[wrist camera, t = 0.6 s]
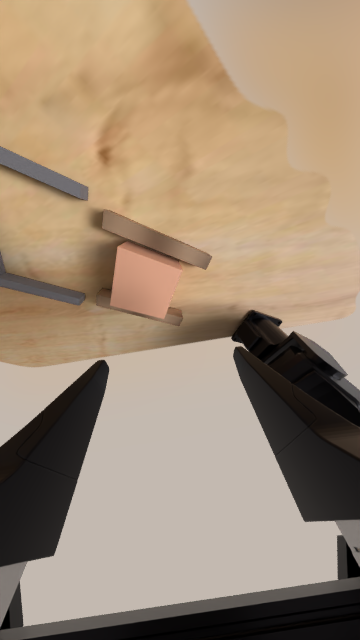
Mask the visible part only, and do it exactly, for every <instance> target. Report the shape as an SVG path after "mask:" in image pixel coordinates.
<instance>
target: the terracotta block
mask: <svg viewBox="0 0 360 640" xmlns="http://www.w3.org/2000/svg"><path fill="white" fill-rule="evenodd" d="M182 271H183V270H182V268H181V265H180V263H179V260H176V259H174V258H171V257H169V256H166V255H163V254H161V253H158V252H156V251H153V250H151V249H148V248H145V247H143V246H140V245H138V244H135V243H133V242H130V241H126V242H125V243H123V244H121V245H119V246H118V248H117V256H116V263H115V271H114V279H113V286H112V294H111V301H110V306H114V307H118V308H122V309H126V310H130V311H134V312H138V313H142V314H146V315H150V316H154V317H157V318H161V319H164V318H165V315H166V313H167V310H168V308H169V305H170V302H171V300H172V297H173V295H174V292H175V289H176V287H177V284H178V282H179V279H180V276H181V274H182Z"/></svg>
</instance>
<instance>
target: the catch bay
mask: <svg viewBox="0 0 360 640" xmlns="http://www.w3.org/2000/svg"><path fill="white" fill-rule="evenodd" d="M0 164H2V165H5V166H7V167H9V168H12V169H14V170H16V171H18V172H21V173H23V174H25V175H28V176H30V177H32V178H34V179H37V180H39V181H41V182H43V183H46V184H48V185H50V186H53V187H55V188H57V189H59V190H62V191H64V192H66V193H69V194H71V195H73V196H75V197H78V198H80V199H84V200H87V201H88V187H86V186H84V185H82V184H80V183H78V182H76V181H74V180H71V179H69V178H67V177H65V176H63V175H61V174H59V173H56V172H54V171H52V170H50V169H48V168H46V167H43V166H41V165H39V164H37V163H35V162H33V161H31V160H28V159H26V158H24V157H22V156H20V155H18V154H16V153H13V152H11V151H9V150H7V149H5V148H3V147H1V146H0ZM0 286H1V287H5V288H9V289H13V290H17V291H21V292H25V293H29V294H34V295H38V296H42V297H46V298H50V299H54V300H58V301H62V302H66V303H71V304H75V305H80V304H81V303H82V302H83V301H84V300H85V293H81V292H77V291H73V290H70V289H66V288H62V287H59V286H55V285H51V284H47V283H44V282H40V281H36V280H32V279H29V278H25V277H21V276H17V275H14V274H10V273H6V271H5V267H4V264H3V260H2V256H1V252H0Z"/></svg>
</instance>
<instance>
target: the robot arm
mask: <svg viewBox="0 0 360 640" xmlns="http://www.w3.org/2000/svg"><path fill="white" fill-rule="evenodd" d="M281 323H282V321H281V320H280V319H278V318H275V317H272V316H269V315H266V314H263V313H260V312H257V311H252V312H251V313H250V314H249V315H248V317H247V318H246V319H245V320H244V322H243V323H242V324H241V326H240V327H239V328H238V330H237V331H236V332H235V334H234V335H233V336H232V338H231V339H232V340H233V341H235V342H239V343H243V344H244V346H245V347H246V349H247V350H248V351H249V352H248V351H247V350H246V349H244V348H243V347H241V346H240V347H235V350H234V354H233V357H234V361H235V364H236V367H237V370H238V373H239V376H240V379H241V381H242V384H243V386H244V388H245V390H246V393H247V395H248V397H249V399H250V402H251V404H252V406H253V408H254V410H255V413H256V415H257V417H258V419H259V422H260V424H261V426H262V428H263V431H264V433H265V435H266V437H267V439H268V441H269V443H270V446H271V448H272V451H273V453H274V455H275V457H276V460H277V462H278V464H279V466H280V469H281V471H282V473H283V475H284V477H285V480H286V482H287V484H288V486H289V489H290V491H291V493H292V495H293V498H294V500H295V502H296V504H297V507H298V509H299V511H300V513H301V515H302V517H303V519H304V521H305V522H309V521H310V522H311V521H335V522H336V524H337V526H338V528H339V529H340V531H341V533H342V535H338V536H337V549H338V550H337V552H338V555H337V556H338V580H335V581H328V582H322V583H315V584H308V585H301V586H295V587H288V588H281V589H275V590H268V591H261V592H254V593H247V594H241V595H234V596H227V597H220V598H215V599H207V600H200V601H194V602H187V603H180V604H173V605H167V606H160V607H154V608H146V609H140V610H134V611H126V612H120V613H113V614H106V615H99V616H92V617H86V618H79V619H72V620H66V621H59V622H52V623H45V624H39V625H32V626H25V627H23V615H22V603H21V592H20V578H21V576H22V573H23V571H24V569H25V566H26V564H27V561H31V560H36V559H41V558H45V557H50V556H54V553H55V551H56V548H57V545H58V542H59V539H60V535H61V532H62V529H63V526H64V522H65V519H66V516H67V513H68V510H69V506H70V503H71V500H72V496H73V494H74V490H75V487H76V484H77V480H78V477H79V474H80V470H81V467H82V464H83V461H84V458H85V455H86V451H87V448H88V445H89V442H90V439H91V435H92V432H93V429H94V425H95V422H96V419H97V416H98V413H99V409H100V406H101V403H102V400H103V397H104V393H105V389H106V383H107V379H108V374H109V367H108V365H107V363H106V361H105V360H99V361H97V362H96V363H95V364H94V365H92V366H91V367H90V368H89V369H88V370H87V371H86V372H85V373H84V374H82V375H81V376H80V377H79V378H78V379H77V380H76V381H75V382H74V383H73V384H71V386H69V387H68V388H67V389H66V390H65V391H64V392H63V393H62V394H60V395H59V396H58V397H57V398H56V399H55V400H54V401H53V402H52V403H51V404H50V405H48V406H47V407H46V408H45V409H44V410H43V411H42V412H41V413H39V414H38V415H37V417H35V418H34V419H33V420H32V421H31V422H29V423H28V424H27V425H26V426H25V427H24V428H23V429H22V430H20V431H19V432H18V433H17V434H15V435H14V436H13V437H12V438H11V439H10V440H8V441H7V442H6V443H5V444H3V445H2V446H1V447H0V640H360V391H359V389H357V388H356V387H355V386H354V385H352V384H351V383H350V382H349V381H348V380H346V379H345V378H344V377H345V376H347V375H348V374H347V373H346V372H345V371H344V370H343V368H342V367H341V366H340V365H339V364H338V362H337V361H336V360H335V359H334V358H333V357H332V355H331V354H330V353H329V352H327V351H326V350H325V349H323V348H321V347H320V346H319V345H318V344H316V343H315V342H314V341H312V340H310V339H308V338H306V337H304V336H302V335H300V334H298V333H296V332H294V331H293V332H292V333H291V334H290V335H289V336H287V335H286V334H285V333H284V332H283V331H282V330H281V329H280V328H279V327H278V326H279V325H280V324H281Z"/></svg>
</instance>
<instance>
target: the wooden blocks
mask: <svg viewBox="0 0 360 640" xmlns="http://www.w3.org/2000/svg"><path fill="white" fill-rule="evenodd" d="M102 229H105V230H107V231H110V232H112V233H115V234H117V235H120V236H122V237H125V238H127V239H130V240H132V241H135V242H137V243H140V244H142V245H145V246H147V247H150V248H152V249H155V250H157V251H160V252H162V253H165V254H167V255H170V256H172V257H175V258H177V259H180V260H182V261H185V262H187V263H190V264H192V265H195V266H197V267H200V268H202V269H205V270H206V269H207V267H208V265H209V263H210V260H211V258H212V256H210V255H209V254H208V253H206V252H203V251H201V250H199V249H197V248H194V247H192V246H190V245H187V244H185V243H183V242H181V241H178V240H176V239H174V238H172V237H169V236H167V235H165V234H162V233H160V232H158V231H156V230H153V229H151V228H149V227H147V226H144V225H142V224H140V223H137V222H135V221H133V220H131V219H128V218H126V217H124V216H122V215H119V214H117V213H115V212H113V211H110V210H105V209H104V211H103V224H102ZM111 294H112V291H111V290H108V289H104V288H102V289H101V290H100V292H99V293H98V294H97V298H96V305H97V306H101V307H105V308H109V309H113V310H117V311H121V312H125V313H129V314H133V315H137V316H141V317H145V318H149V319H153V320H157V321H161V322H165V323H169V324H173V325H177V326H179V325H180V323H181V321H182V319H183V316H182V311H181V310H178V309H174V308H171V307H169V308H168V310H167V313H166V315H165V318H164V319H161V318H157V317H154V316H150V315H146V314H142V313H138V312H134V311H130V310H126V309H122V308H118V307H114V306H110V301H111Z"/></svg>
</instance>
